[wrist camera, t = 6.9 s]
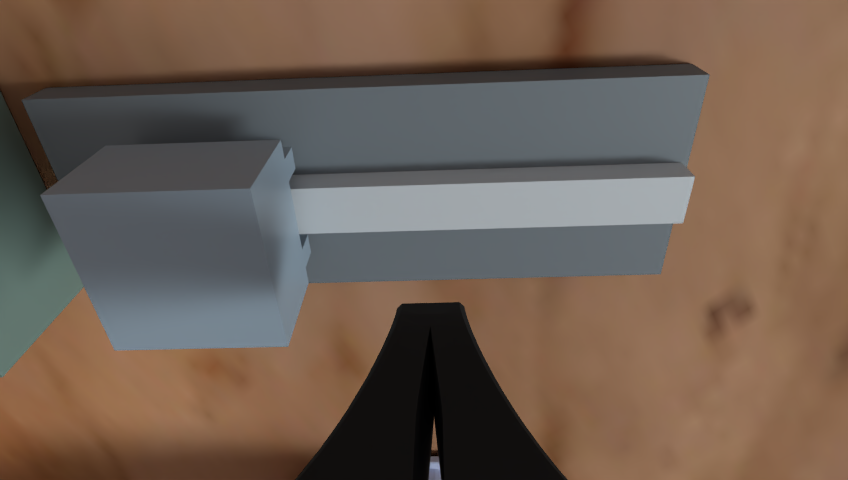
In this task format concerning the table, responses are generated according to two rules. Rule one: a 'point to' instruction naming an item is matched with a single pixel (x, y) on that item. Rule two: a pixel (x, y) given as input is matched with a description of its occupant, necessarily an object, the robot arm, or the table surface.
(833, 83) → the table surface
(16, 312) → the cabinet
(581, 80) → the rail base
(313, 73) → the table surface
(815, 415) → the table surface
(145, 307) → the carriage
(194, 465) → the table surface
